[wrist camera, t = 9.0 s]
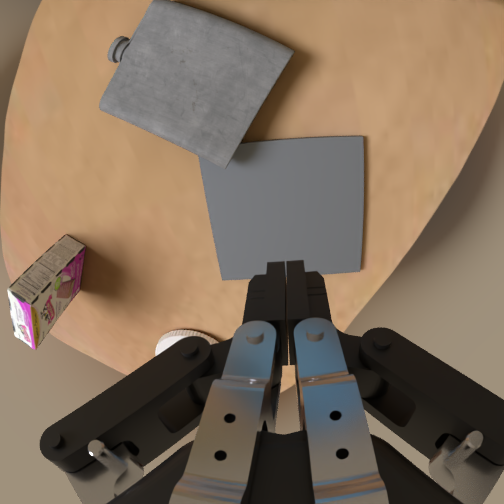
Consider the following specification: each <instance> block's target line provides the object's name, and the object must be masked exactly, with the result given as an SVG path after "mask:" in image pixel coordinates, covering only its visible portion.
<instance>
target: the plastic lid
mask: <svg viewBox="0 0 504 504" xmlns="http://www.w3.org/2000/svg"><path fill="white" fill-rule="evenodd" d="M189 336H199V337H203V338H205V339H206V340H207V341H208V342H209V343H210V345H211V344H215V343H219V342H217V340H214V338H211V337H210V336H207V335H204V334H203V333H200V332H199V333H198V332H197V331H195V332H194V331H193V330H192V331H190V330H175V331H174V330H173V331H170V332H168V333H166V334H165V335H163V336H162V337H161V338H160V339H159V342H158V344H157V346H156V350H155V354H156V356H157V355H158V354H160V353H161V352H163V351H164V350H166V349H167V348H169V347H170V346H171V345H173V344H174V343H176V342H177V341H179V340H180V339H182V338H185V337H189Z"/></svg>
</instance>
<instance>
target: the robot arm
mask: <svg viewBox="0 0 504 504" xmlns="http://www.w3.org/2000/svg"><path fill="white" fill-rule="evenodd" d="M286 273H287V283H286ZM246 298H247V300H246V304H245V310H244V316H243V323H242V325H241V326H240V327H239V328H238V329H237V330H236V331H235V333H234V336H233V337H232V338H231V339H228V340H226V341H223V342H219V343H215V344H211V345H210V343H209V342H208V341H207V340H206V339H205V338H203V337H199V336H189V337H185V338H182V339H180V340H179V341H177V342H176V343H174V344H173V345H171V346H170V347H169V348H167V349H166V350H164V351H163V352H161V353H160V354H158V355H157V356H156V357H154V358H153V359H151V360H150V361H148V362H147V363H145V364H144V365H142V366H141V367H140V368H138V369H137V370H135V371H134V372H132V373H131V374H129V375H128V376H126V377H125V378H123V379H122V380H120V381H119V382H117V383H116V384H114V385H113V386H111V387H110V388H108V389H107V390H105V391H104V392H102V393H101V394H99V395H98V396H96V397H95V398H93V399H92V400H90V401H89V402H87V403H86V404H84V405H83V406H81V407H80V408H78V409H76V410H75V411H73V412H72V413H70V414H69V415H67V416H66V417H64V418H62V419H61V420H59V421H58V422H56V423H55V424H53V425H51V426H50V427H48V428H47V429H46V430H45V431H44V433H43V434H42V436H41V440H40V450H41V452H42V454H43V455H44V457H46V458H47V459H48V460H50V461H51V462H53V463H54V464H55V465H56V466H58V467H59V468H60V469H61V470H62V471H64V472H65V473H66V475H67V477H68V479H69V481H70V482H71V484H72V486H73V488H74V490H75V491H76V493H77V495H78V497H79V498H80V500H81V502H82V503H83V504H483V502H484V501H485V499H486V498H487V496H488V495H489V493H490V492H491V490H492V489H493V487H494V485H495V484H496V482H497V481H498V479H499V477H500V475H501V474H502V472H503V470H504V400H503V399H501V398H500V397H498V396H497V395H495V394H493V393H492V392H490V391H489V390H487V389H486V388H484V387H482V386H481V385H479V384H478V383H476V382H475V381H473V380H471V379H470V378H468V377H467V376H465V375H464V374H462V373H460V372H459V371H457V370H456V369H454V368H452V367H451V366H449V365H448V364H446V363H444V362H443V361H441V360H440V359H438V358H436V357H435V356H433V355H431V354H430V353H428V352H427V351H425V350H424V349H422V348H420V347H419V346H417V345H416V344H414V343H412V342H411V341H409V340H408V339H406V338H404V337H403V336H401V335H400V334H398V333H396V332H395V331H393V330H391V329H388V328H373V329H370V330H368V331H367V332H366V333H365V334H364V335H363V336H362V337H358V336H352V335H348V334H344V333H343V332H341V331H339V330H338V329H337V328H336V327H335V326H334V324H333V323H332V320H331V314H330V308H329V303H328V298H327V292H326V288H325V282H324V278H323V277H322V276H321V275H320V274H319V272H318V271H310V272H305V267H304V260H293V261H286V270H285V261H278V262H267V270H266V274H261V275H255V276H254V277H253V278H252V279H251V281H250V282H249V285H248V293H247V297H246ZM288 339H289V356H290V365H295V382H296V392H297V402H298V411H299V421H300V431H298V432H294V433H290V434H286V435H282V434H276V433H275V427H276V418H277V411H278V403H279V395H280V387H281V378H282V366H284V365H288ZM364 409H365V410H366V411H367V412H368V413H370V414H371V415H372V416H373V417H375V418H376V419H377V420H379V421H380V422H381V423H382V424H384V425H385V426H386V427H388V428H389V429H390V430H391V431H393V432H394V433H395V434H397V435H398V436H399V437H400V438H402V439H403V440H404V441H406V442H407V443H408V444H410V445H411V446H412V447H414V448H415V449H416V450H418V451H419V452H420V453H422V454H423V455H425V456H426V457H427V458H429V459H430V461H429V472H430V475H431V476H432V478H433V479H434V480H435V481H436V482H437V483H436V482H435V481H434V480H433V479H431V478H430V477H429V476H428V475H426V474H425V473H424V472H423V471H421V470H420V469H419V468H417V467H416V466H415V465H414V464H413V463H412V462H410V461H409V460H408V459H407V458H406V457H404V456H403V455H402V454H401V453H400V452H398V451H397V450H396V449H395V448H394V447H392V446H391V445H390V444H389V443H387V442H386V441H384V440H383V439H381V438H379V437H377V436H375V435H372V434H370V432H369V428H368V424H367V420H366V416H365V412H364ZM198 425H199V427H198V430H197V433H196V436H195V440H193V441H191V442H189V443H187V444H186V445H184V446H183V447H181V448H180V449H179V450H177V451H176V452H175V453H174V454H173V455H171V456H170V457H169V458H168V459H166V460H165V461H164V462H162V463H161V464H160V465H159V466H157V467H156V468H155V469H153V470H152V471H151V472H150V473H148V474H147V475H146V476H144V477H143V474H144V468H143V467H144V466H145V465H147V464H148V463H150V462H151V461H152V460H154V459H155V458H157V457H158V456H159V455H161V454H162V453H163V452H165V451H166V450H167V449H169V448H170V447H171V446H173V445H174V444H175V443H177V442H178V441H179V440H181V439H182V438H183V437H184V436H186V435H187V434H188V433H189V432H191V431H192V430H193V429H195V428H196V427H197V426H198ZM142 477H143V478H142Z"/></svg>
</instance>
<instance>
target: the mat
mask: <svg viewBox="0 0 504 504" xmlns="http://www.w3.org/2000/svg"><path fill="white" fill-rule="evenodd" d="M198 157H199V162H200V168H201V174H202V179H203V185H204V190H205V196H206V201H207V206H208V212H209V217H210V222H211V227H212V232H213V237H214V242H215V247H216V252H217V257H218V262H219V267H220V272H221V277H222V280H240V279H252V278H253V277H254V276H255V275H261V274H266V270H267V262H278V261H285V270H286V261H293V260H304V267H305V272H310V271H318V272H319V274H320V275H322V274H336V273H350V272H360V266H361V252H362V235H363V210H364V147H363V136H327V137H306V138H290V139H277V140H266V141H255V142H246V143H240V145H239V146H238V148H237V150H236V152H235V153H234V155H233V157H232V159H231V161H230V162H229V164H228V166H227V168H226V169H224V168H222V167H220V166H218V165H216V164H214V163H212V162H210V161H208V160H206V159H204V158H202V157H200V156H198ZM286 277H287V273H286Z"/></svg>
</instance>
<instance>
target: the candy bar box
mask: <svg viewBox="0 0 504 504" xmlns="http://www.w3.org/2000/svg"><path fill="white" fill-rule="evenodd" d="M85 249H86V246H85V245H84V244H82V243H81V242H79V241H77V240H75V239H73V238H71V237H70V236H68V235H66V234H65V235H64V236H63V237H62V238H61V239H60V240H58V241H57V242H56V243H55V244H54V245H53V246H52V247H50V248H49V249H48V250H47V251H46V252H45V253H44V254H43V255H42V256H41V257H40V258H39V259H37V260H36V261H35V262H34V263H33V264H32V265H31V266H30V267H29V268H28V269H27V270H26V271H25V272H24V273H23V274H22V275H21V276H20V277H19V278H18V279H17V280H16V281H15V282H14V283H13V284H12V285H11V286H10V287H9V288H8V298H9V305H10V312H11V317H12V324H13V330H14V335H15V336H16V337H17V338H18V339H20V340H21V341H23V342H24V343H25V344H27V345H29V347H31V348H33V349H35V350H37V348H38V346H39V345H40V344H41V342H42V341H43V339H44V338H45V336H46V335H47V334H48V332H49V331H50V329H51V328H52V326H53V325H54V324H55V322H56V321H57V319H58V318H59V317H60V315H61V314H62V313H63V311H64V310H65V309H66V307H67V306H68V305H69V303H70V302H71V301H72V300H73V298H74V297H75V296H76V295H77V293H78V292H79V291H80V284H81V275H82V268H83V261H84V255H85Z"/></svg>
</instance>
